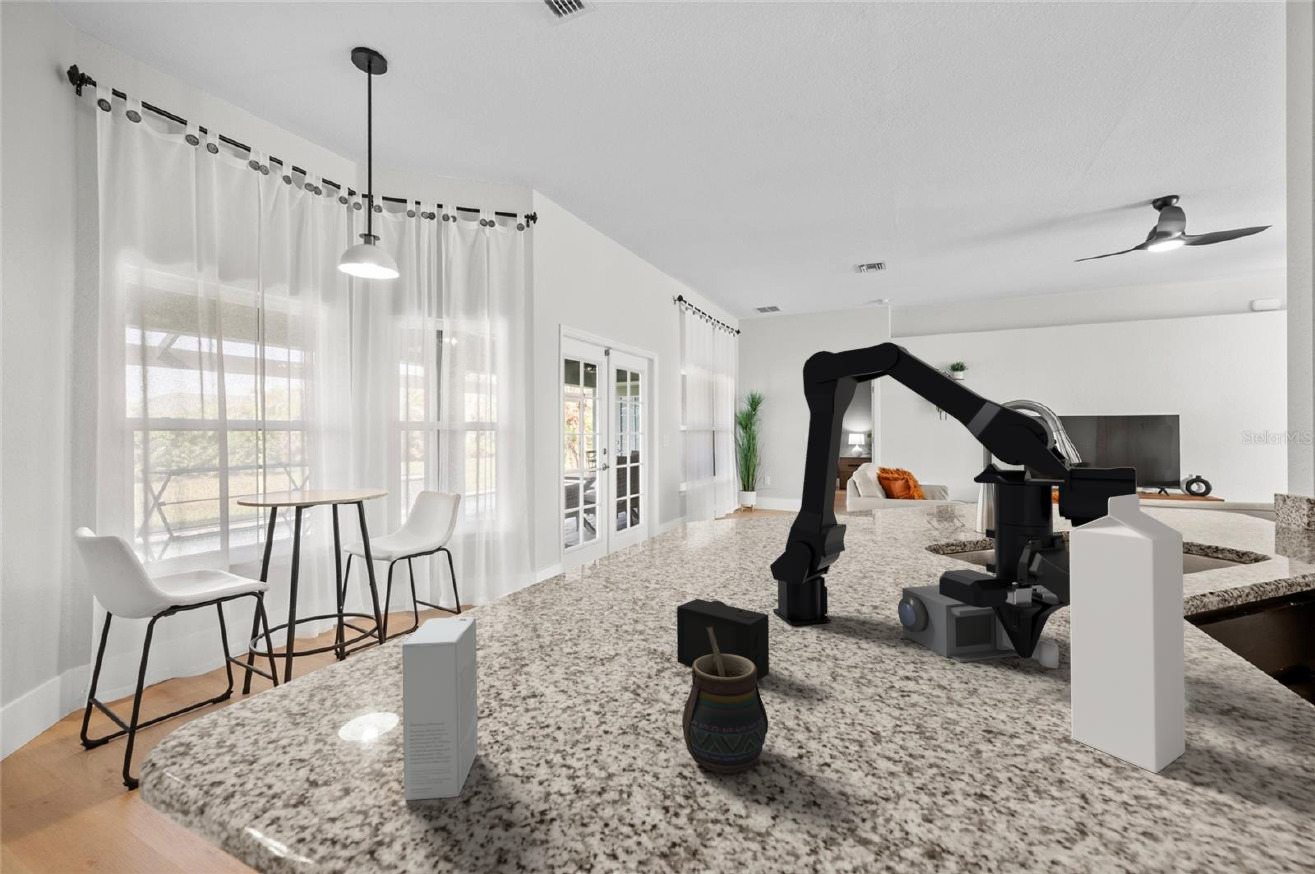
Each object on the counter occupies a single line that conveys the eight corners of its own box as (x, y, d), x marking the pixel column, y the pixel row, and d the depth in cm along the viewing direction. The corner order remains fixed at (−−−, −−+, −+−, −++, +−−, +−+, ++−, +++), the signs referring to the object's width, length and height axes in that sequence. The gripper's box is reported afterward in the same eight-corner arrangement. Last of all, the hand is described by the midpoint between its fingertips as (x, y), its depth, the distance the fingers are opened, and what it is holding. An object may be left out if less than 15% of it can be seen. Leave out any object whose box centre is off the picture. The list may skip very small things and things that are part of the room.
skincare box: (428, 756, 47) (427, 617, 47) (478, 753, 47) (478, 615, 47) (400, 803, 41) (400, 643, 41) (459, 799, 41) (458, 641, 41)
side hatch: (1049, 671, 61) (1048, 631, 61) (996, 648, 68) (995, 611, 68) (1091, 666, 62) (1090, 626, 62) (1035, 643, 69) (1034, 607, 69)
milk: (1185, 754, 46) (1185, 497, 46) (1156, 775, 43) (1156, 501, 43) (1100, 721, 52) (1100, 491, 52) (1068, 738, 49) (1068, 494, 49)
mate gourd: (707, 795, 41) (706, 665, 41) (666, 744, 48) (665, 632, 48) (785, 772, 44) (784, 649, 44) (735, 727, 51) (735, 621, 51)
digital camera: (775, 671, 63) (774, 611, 63) (751, 687, 59) (751, 623, 59) (703, 649, 70) (702, 595, 70) (677, 662, 66) (676, 605, 66)
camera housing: (945, 664, 65) (944, 603, 65) (892, 636, 74) (892, 582, 74) (1049, 651, 68) (1049, 594, 68) (987, 626, 78) (986, 575, 78)
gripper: (1017, 539, 53) (1019, 699, 53) (1162, 530, 57) (1164, 678, 57) (935, 522, 64) (936, 655, 64) (1061, 516, 68) (1063, 640, 68)
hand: (1024, 657), depth 63 cm, fingers closed
